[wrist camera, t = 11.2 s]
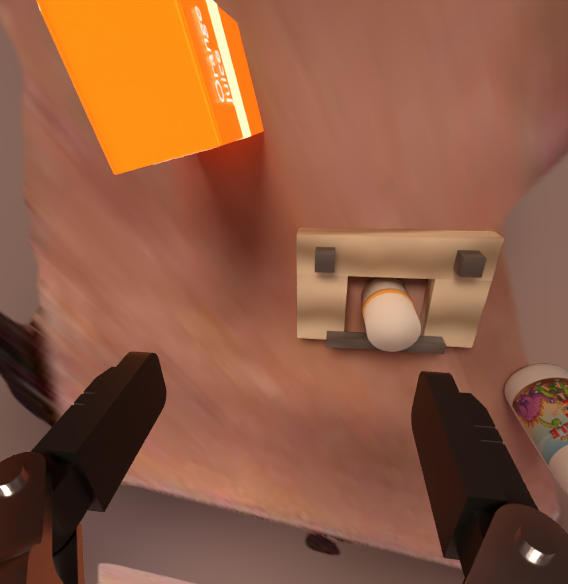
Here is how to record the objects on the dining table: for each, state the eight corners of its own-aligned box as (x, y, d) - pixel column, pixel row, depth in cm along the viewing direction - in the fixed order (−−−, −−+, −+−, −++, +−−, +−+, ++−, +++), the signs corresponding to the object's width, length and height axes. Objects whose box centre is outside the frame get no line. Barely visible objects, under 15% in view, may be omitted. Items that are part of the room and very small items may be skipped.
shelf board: (298, 227, 37) (294, 241, 33) (494, 230, 35) (514, 246, 31) (298, 326, 43) (295, 348, 39) (464, 335, 41) (478, 359, 37)
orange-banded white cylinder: (361, 275, 39) (367, 306, 33) (411, 275, 38) (426, 308, 32) (358, 314, 41) (363, 351, 35) (404, 316, 41) (417, 353, 35)
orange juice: (238, 21, 29) (97, -107, 12) (265, 131, 33) (189, 158, 16) (158, 50, 31) (-68, -25, 13) (192, 151, 35) (51, 195, 17)
